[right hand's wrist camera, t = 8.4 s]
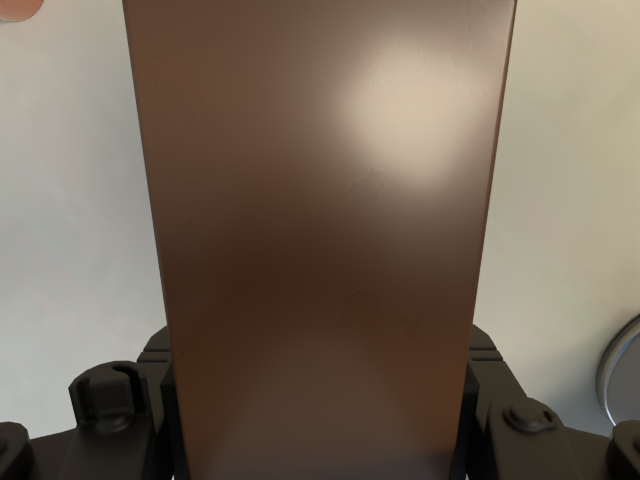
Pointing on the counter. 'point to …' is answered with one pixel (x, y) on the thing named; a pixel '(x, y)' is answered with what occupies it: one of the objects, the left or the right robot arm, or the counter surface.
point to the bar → (319, 223)
